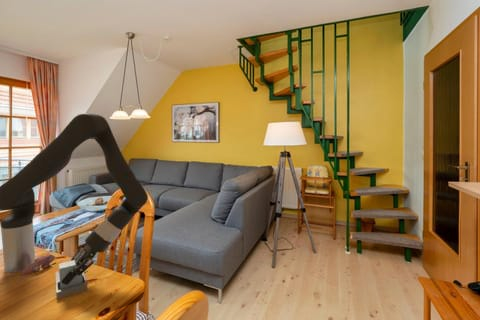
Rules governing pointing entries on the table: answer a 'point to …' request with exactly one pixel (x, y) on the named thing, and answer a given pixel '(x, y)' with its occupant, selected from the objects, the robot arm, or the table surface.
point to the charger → (64, 270)
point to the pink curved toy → (38, 264)
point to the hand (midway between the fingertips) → (63, 279)
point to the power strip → (71, 289)
